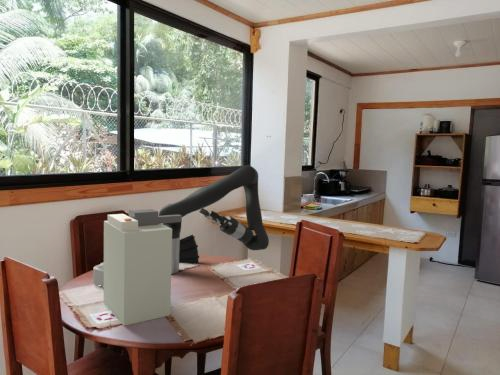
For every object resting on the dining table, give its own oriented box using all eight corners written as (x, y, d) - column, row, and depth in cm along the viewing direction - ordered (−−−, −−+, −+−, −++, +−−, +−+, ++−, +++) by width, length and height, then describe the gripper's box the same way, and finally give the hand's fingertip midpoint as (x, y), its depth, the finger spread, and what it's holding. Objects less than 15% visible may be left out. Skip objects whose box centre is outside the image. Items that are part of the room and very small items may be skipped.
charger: (128, 223, 146) (128, 210, 145) (176, 219, 157) (177, 207, 157) (134, 226, 141) (134, 212, 141) (183, 222, 152) (184, 209, 152)
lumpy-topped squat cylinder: (119, 287, 169) (119, 267, 168) (89, 286, 169) (89, 266, 168) (126, 279, 179) (127, 261, 178) (98, 278, 179) (98, 259, 178)
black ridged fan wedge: (202, 261, 206) (191, 235, 206) (180, 270, 208) (169, 244, 208) (204, 259, 210) (193, 234, 209) (182, 268, 212) (171, 242, 212)
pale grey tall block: (103, 302, 152) (103, 211, 149) (145, 294, 162) (147, 209, 159) (123, 325, 133) (124, 222, 130) (170, 315, 143) (172, 218, 140)
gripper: (227, 217, 179) (201, 201, 170) (245, 222, 168) (218, 205, 159) (220, 232, 177) (193, 216, 168) (238, 238, 166) (209, 222, 157)
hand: (205, 211), depth 163 cm, fingers open, 8 cm apart
